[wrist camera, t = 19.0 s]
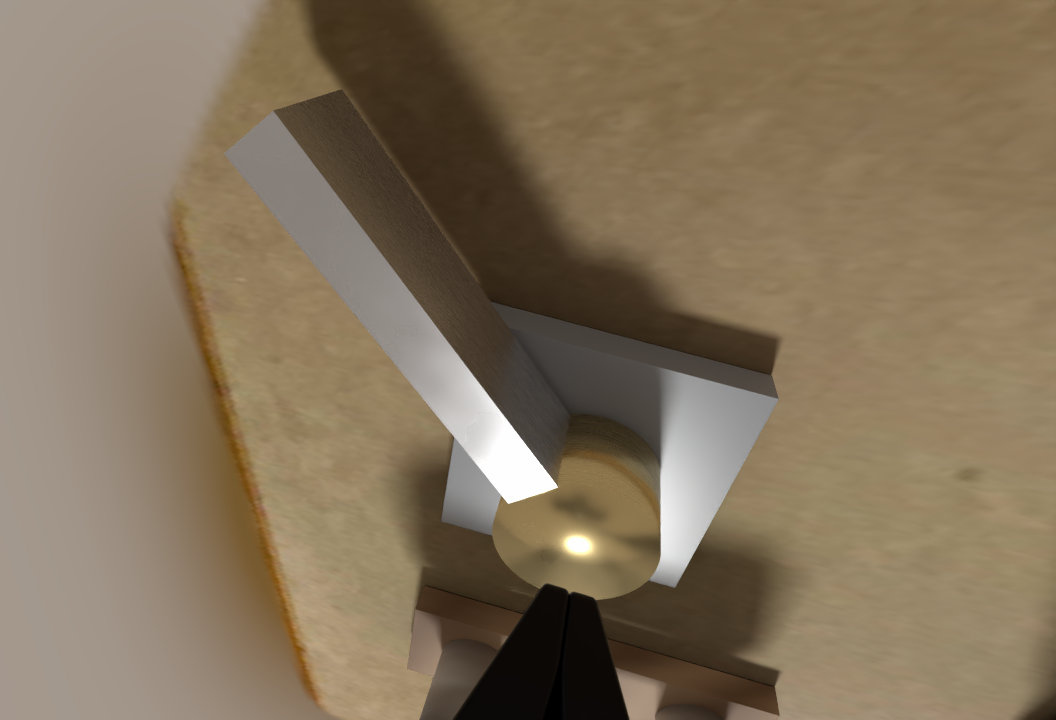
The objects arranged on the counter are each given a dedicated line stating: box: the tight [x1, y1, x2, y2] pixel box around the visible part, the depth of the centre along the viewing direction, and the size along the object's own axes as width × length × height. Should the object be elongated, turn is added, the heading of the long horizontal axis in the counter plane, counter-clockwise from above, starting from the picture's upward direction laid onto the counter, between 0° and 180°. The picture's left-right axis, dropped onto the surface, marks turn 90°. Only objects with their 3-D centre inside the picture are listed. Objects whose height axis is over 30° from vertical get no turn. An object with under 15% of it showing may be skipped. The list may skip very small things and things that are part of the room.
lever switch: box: [224, 89, 661, 600], centre depth 16 cm, size 15×5×3 cm, turn 33°
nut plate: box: [441, 302, 779, 588], centre depth 20 cm, size 9×9×1 cm
